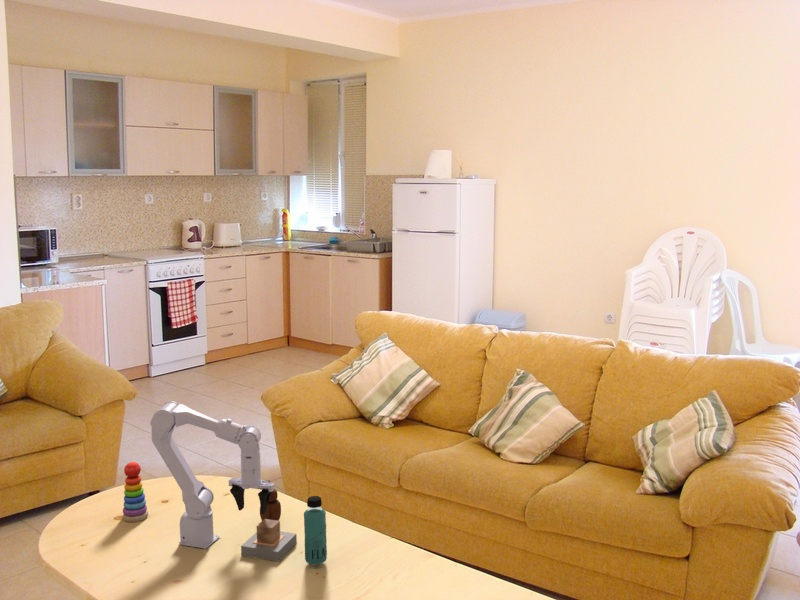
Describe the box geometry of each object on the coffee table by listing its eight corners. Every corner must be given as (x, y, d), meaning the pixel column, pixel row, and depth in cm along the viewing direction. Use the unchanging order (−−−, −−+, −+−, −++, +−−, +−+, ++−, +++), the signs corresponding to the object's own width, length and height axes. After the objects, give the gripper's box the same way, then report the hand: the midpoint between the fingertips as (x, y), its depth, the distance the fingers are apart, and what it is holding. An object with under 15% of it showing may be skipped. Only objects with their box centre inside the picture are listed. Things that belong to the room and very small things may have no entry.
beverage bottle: (309, 572, 214) (307, 504, 211) (301, 561, 220) (299, 495, 217) (331, 566, 217) (329, 499, 214) (322, 556, 223) (320, 491, 220)
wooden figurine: (269, 529, 241) (267, 483, 238) (256, 524, 244) (255, 479, 242) (284, 521, 246) (283, 477, 244) (272, 516, 250) (270, 473, 247)
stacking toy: (153, 516, 251) (150, 461, 248) (133, 525, 244) (129, 469, 241) (137, 510, 255) (134, 456, 252) (117, 519, 248) (113, 464, 245)
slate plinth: (241, 555, 224) (240, 545, 223) (261, 537, 235) (260, 527, 235) (278, 561, 220) (277, 551, 220) (296, 543, 231) (296, 533, 231)
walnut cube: (257, 541, 225) (256, 525, 225) (265, 534, 230) (264, 518, 229) (272, 544, 224) (271, 528, 223) (280, 536, 229) (279, 521, 228)
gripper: (222, 469, 228) (224, 512, 230) (266, 475, 223) (267, 519, 225) (234, 461, 234) (236, 503, 236) (277, 467, 230) (278, 509, 232)
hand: (252, 510), depth 231 cm, fingers open, 7 cm apart
